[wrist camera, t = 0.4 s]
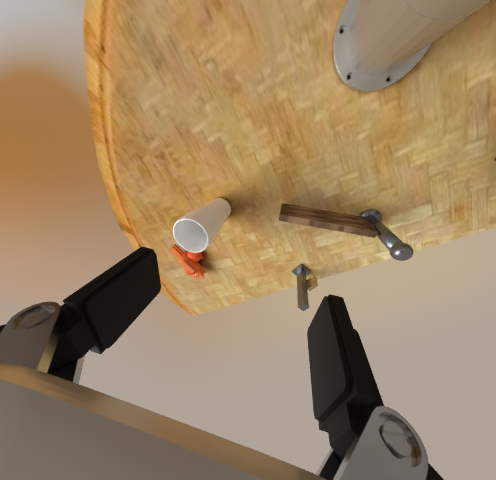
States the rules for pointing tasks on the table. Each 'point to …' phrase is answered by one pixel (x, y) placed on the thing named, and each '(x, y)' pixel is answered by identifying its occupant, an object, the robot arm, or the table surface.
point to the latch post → (304, 285)
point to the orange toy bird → (189, 261)
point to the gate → (327, 220)
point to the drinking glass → (201, 225)
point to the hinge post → (388, 236)
